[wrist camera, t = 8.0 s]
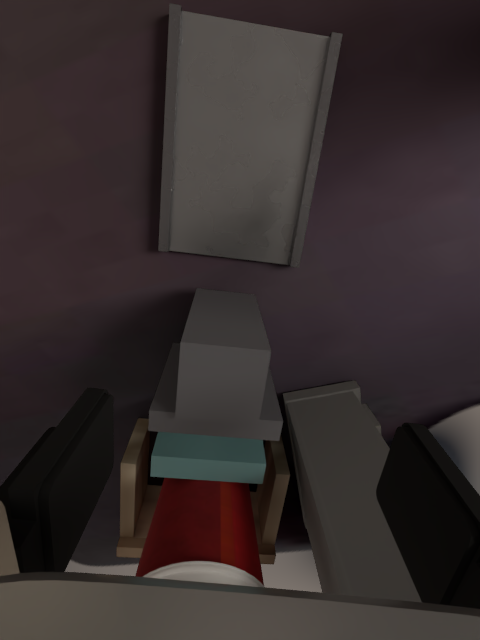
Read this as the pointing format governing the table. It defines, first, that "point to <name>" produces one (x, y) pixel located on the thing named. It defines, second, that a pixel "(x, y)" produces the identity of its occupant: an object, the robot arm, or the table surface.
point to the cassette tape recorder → (345, 493)
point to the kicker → (216, 394)
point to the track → (242, 136)
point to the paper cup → (202, 534)
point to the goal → (143, 498)
